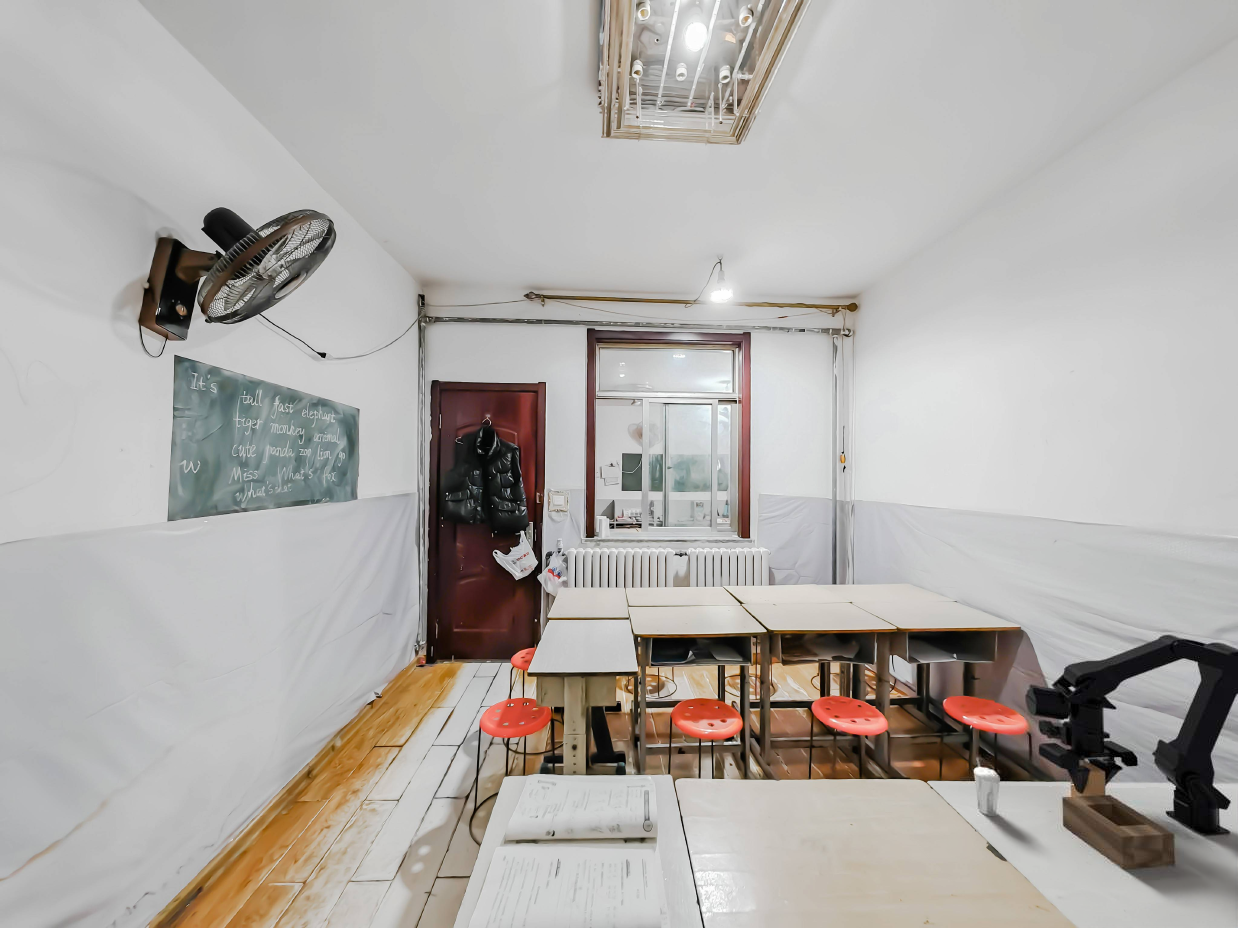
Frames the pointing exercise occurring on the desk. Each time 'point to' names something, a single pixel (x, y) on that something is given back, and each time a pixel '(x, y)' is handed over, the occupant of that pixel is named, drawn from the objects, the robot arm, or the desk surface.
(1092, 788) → the peg
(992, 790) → the milkshake
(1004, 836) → the desk surface
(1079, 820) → the socket
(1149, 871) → the desk surface
